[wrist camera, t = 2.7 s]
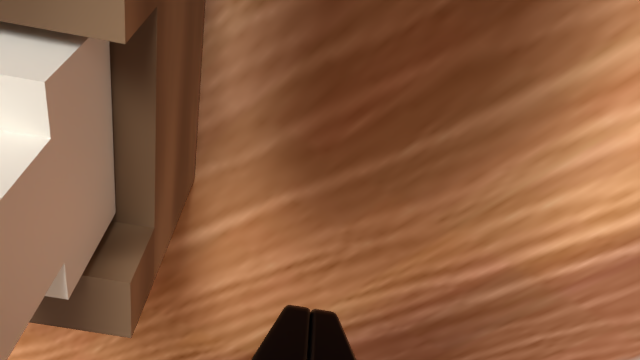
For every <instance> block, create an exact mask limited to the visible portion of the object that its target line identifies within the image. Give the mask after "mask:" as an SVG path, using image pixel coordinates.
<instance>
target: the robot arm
mask: <svg viewBox="0 0 640 360" xmlns="http://www.w3.org/2000/svg"><path fill="white" fill-rule="evenodd" d="M251 360H356V358H355V356H354V354H353V351H352V349H351V347H350V344H349V342H348V340H347V337H346V335H345V333H344V330H343V328H342V326H341V323H340V321H339V319H338V317H337V315H336V314H335V313H334V312H331V311H325V310H319V309H314V310H312V311H311V312H310V310H309V309H308V308H306V307H300V306H294V305H287V306H286V307H285V308H284V309H283V311H282V312H281V314H280V315H279V317H278V318H277V320H276V322H275V323H274V325H273V326H272V328H271V329H270V331H269V333H268V334H267V336H266V337H265V339H264V341H263V342H262V344H261V345H260V347H259V348H258V350H257V352H256V353H255V355H254V356H253V358H252V359H251Z"/></svg>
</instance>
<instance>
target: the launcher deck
mask: <svg viewBox="0 0 640 360" xmlns="http://www.w3.org/2000/svg"><path fill="white" fill-rule="evenodd" d="M204 11H205V0H0V21H2V22H7V23H13V24H18V25H24V26H29V27H35V28H40V29H46V30H51V31H56V32H62V33H67V34H73V35H78V36H84V37H89V38H95V39H100V40H106V41H109V46H110V72H111V99H112V126H113V153H114V180H115V207H116V213H115V215H114V217H113V219H112V220H111V222H110V224H109V226H108V228H107V230H106V231H105V233H104V235H103V237H102V239H101V241H100V242H99V244H98V246H97V248H96V250H95V252H94V254H93V255H92V257H91V259H90V261H89V263H88V265H87V266H86V268H85V270H84V272H83V274H82V276H81V277H80V279H79V281H78V283H77V285H76V287H75V288H74V290H73V292H72V294H71V296H70V298H69V300H67V299H61V298H55V297H48V296H44V298H43V300H42V301H41V303H40V305H39V306H38V308H37V310H36V312H35V313H34V315H33V317H32V318H31V320H30V322H31V323H38V324H44V325H50V326H57V327H63V328H70V329H76V330H83V331H89V332H95V333H102V334H108V335H115V336H121V337H128V338H132V335H133V333H134V330H135V328H136V325H137V323H138V320H139V318H140V315H141V312H142V310H143V307H144V305H145V302H146V300H147V297H148V295H149V292H150V290H151V287H152V285H153V282H154V280H155V277H156V275H157V272H158V270H159V267H160V265H161V262H162V260H163V257H164V255H165V252H166V250H167V247H168V244H169V242H170V239H171V237H172V234H173V232H174V229H175V227H176V224H177V222H178V219H179V217H180V214H181V212H182V209H183V207H184V204H185V202H186V199H187V197H188V194H189V192H190V189H191V187H192V184H193V182H194V176H195V160H196V143H197V127H198V110H199V94H200V77H201V61H202V44H203V28H204Z"/></svg>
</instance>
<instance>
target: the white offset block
mask: <svg viewBox="0 0 640 360" xmlns="http://www.w3.org/2000/svg"><path fill="white" fill-rule="evenodd" d="M115 213H116V207H115V180H114V153H113V126H112V99H111V72H110V46H109V41H106V40H100V39H95V38H89V37H84V36H78V35H73V34H67V33H62V32H56V31H51V30H46V29H40V28H35V27H29V26H24V25H18V24H13V23H7V22H2V21H0V360H7V359H8V357H9V355H10V354H11V352H12V350H13V349H14V347H15V345H16V344H17V342H18V340H19V339H20V337H21V335H22V333H23V332H24V330H25V328H26V327H27V325H28V323H29V322H30V320H31V318H32V317H33V315H34V313H35V312H36V310H37V308H38V306H39V305H40V303H41V301H42V300H43V298H44V296H48V297H55V298H61V299H67V300H69V298H70V296H71V294H72V292H73V290H74V288H75V287H76V285H77V283H78V281H79V279H80V277H81V276H82V274H83V272H84V270H85V268H86V266H87V265H88V263H89V261H90V259H91V257H92V255H93V254H94V252H95V250H96V248H97V246H98V244H99V242H100V241H101V239H102V237H103V235H104V233H105V231H106V230H107V228H108V226H109V224H110V222H111V220H112V219H113V217H114V215H115Z"/></svg>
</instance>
